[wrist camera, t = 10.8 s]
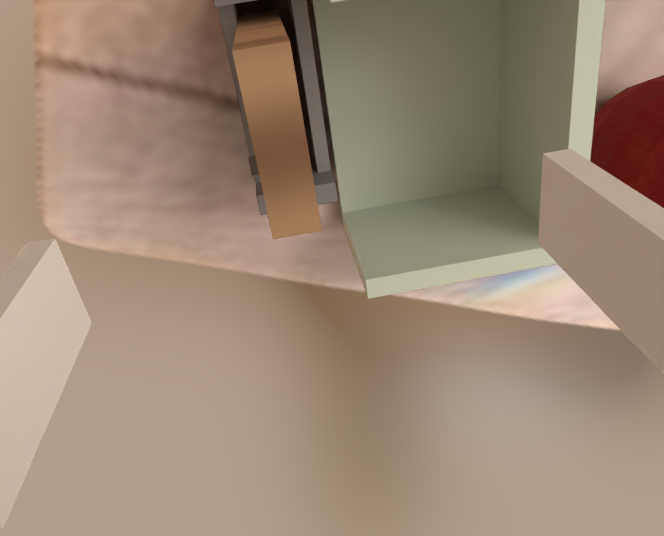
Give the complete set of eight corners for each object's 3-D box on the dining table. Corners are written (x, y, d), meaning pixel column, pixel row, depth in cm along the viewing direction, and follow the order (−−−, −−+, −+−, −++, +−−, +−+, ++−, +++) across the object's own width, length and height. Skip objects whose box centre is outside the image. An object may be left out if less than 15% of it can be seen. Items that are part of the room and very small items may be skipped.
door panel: (226, 18, 32) (213, 54, 21) (276, 9, 33) (289, 41, 21) (255, 152, 36) (257, 242, 25) (300, 144, 37) (322, 230, 25)
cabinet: (214, -25, 31) (200, -16, 23) (515, -73, 32) (613, -81, 23) (270, 235, 39) (275, 315, 31) (509, 192, 40) (580, 259, 31)
